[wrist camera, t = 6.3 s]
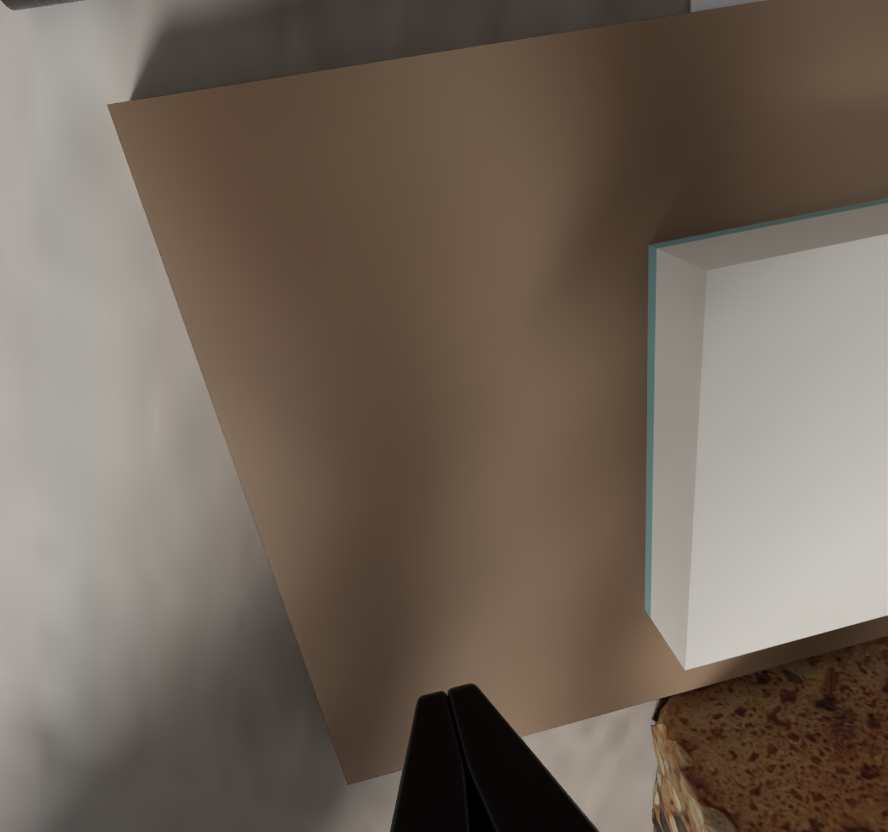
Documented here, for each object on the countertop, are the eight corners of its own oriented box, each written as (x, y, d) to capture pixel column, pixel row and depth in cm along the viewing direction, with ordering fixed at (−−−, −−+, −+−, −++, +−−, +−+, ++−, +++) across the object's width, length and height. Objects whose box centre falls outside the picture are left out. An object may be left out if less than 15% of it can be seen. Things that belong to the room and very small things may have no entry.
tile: (685, 670, 14) (966, 593, 15) (706, 270, 10) (1100, 190, 11) (644, 609, 16) (899, 542, 16) (649, 244, 11) (991, 177, 12)
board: (345, 743, 18) (347, 784, 17) (127, 103, 10) (106, 104, 9) (869, 602, 19) (902, 631, 18) (1020, -38, 12) (1092, -52, 11)
